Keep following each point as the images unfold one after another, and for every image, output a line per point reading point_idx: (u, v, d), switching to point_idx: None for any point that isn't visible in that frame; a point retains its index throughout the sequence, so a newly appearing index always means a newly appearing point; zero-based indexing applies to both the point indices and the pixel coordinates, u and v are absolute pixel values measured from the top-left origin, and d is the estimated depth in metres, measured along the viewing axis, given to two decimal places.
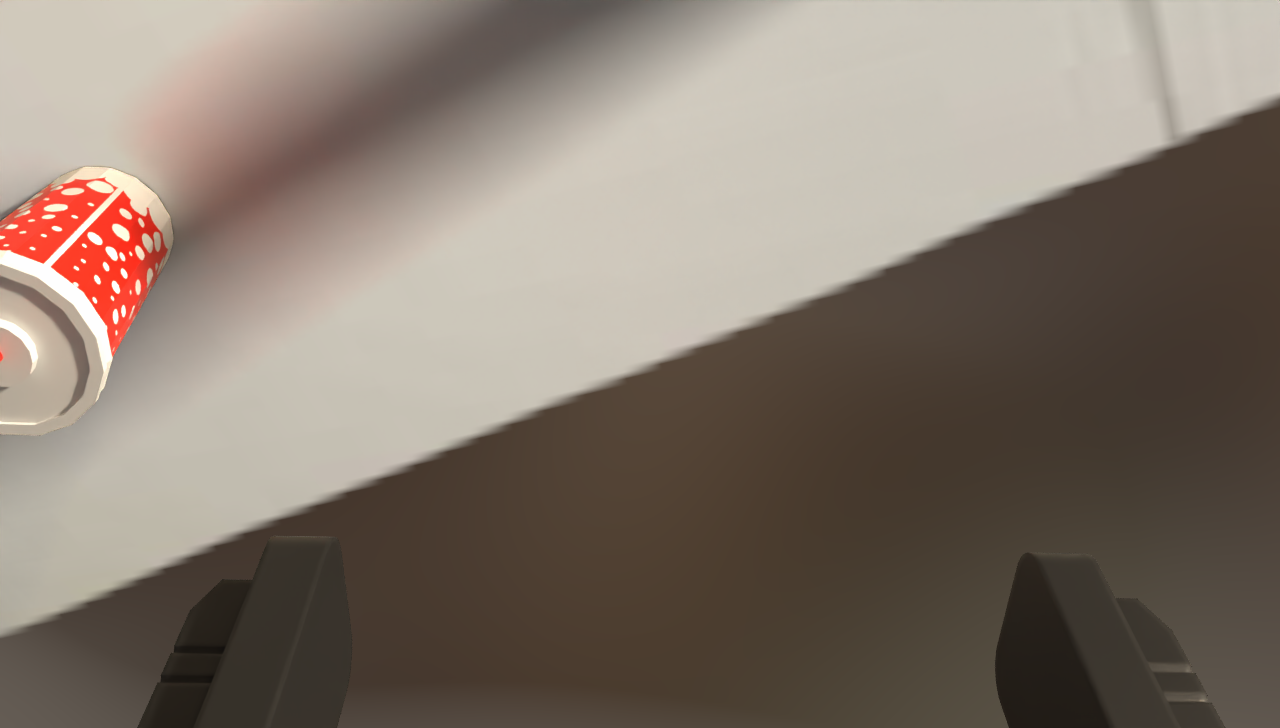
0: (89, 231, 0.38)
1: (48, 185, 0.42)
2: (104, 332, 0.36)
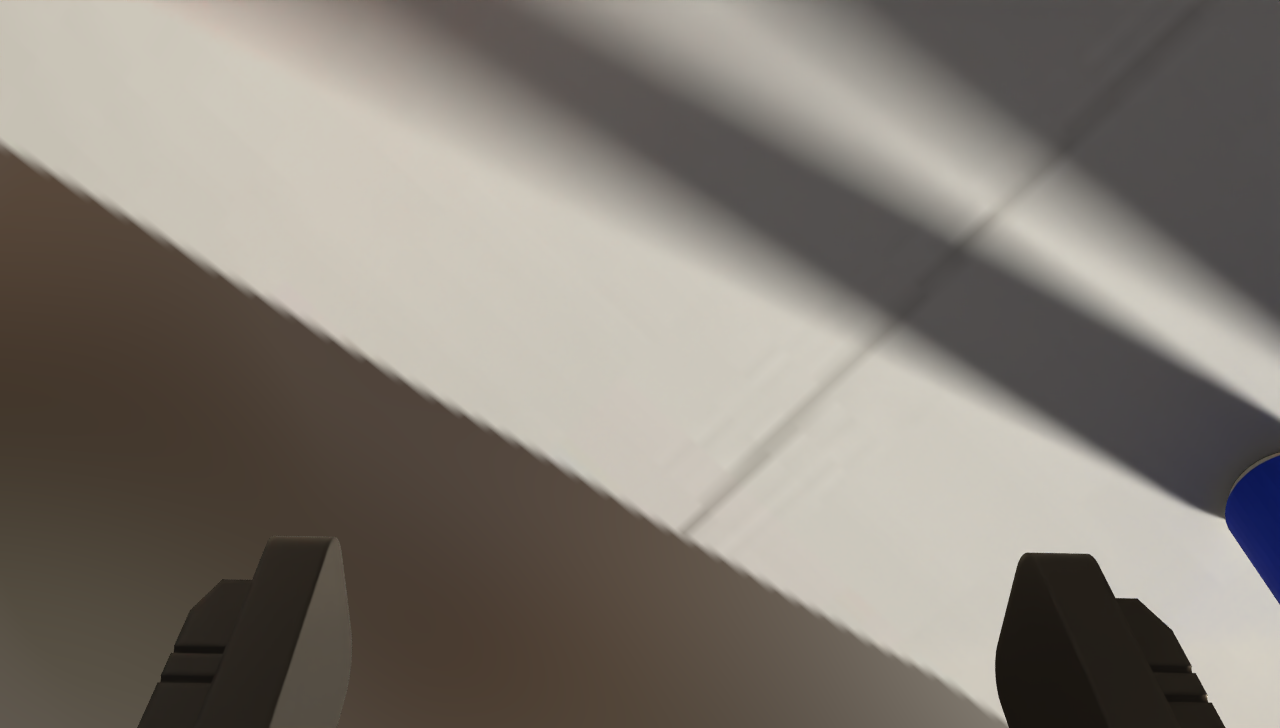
0: None
1: None
2: None
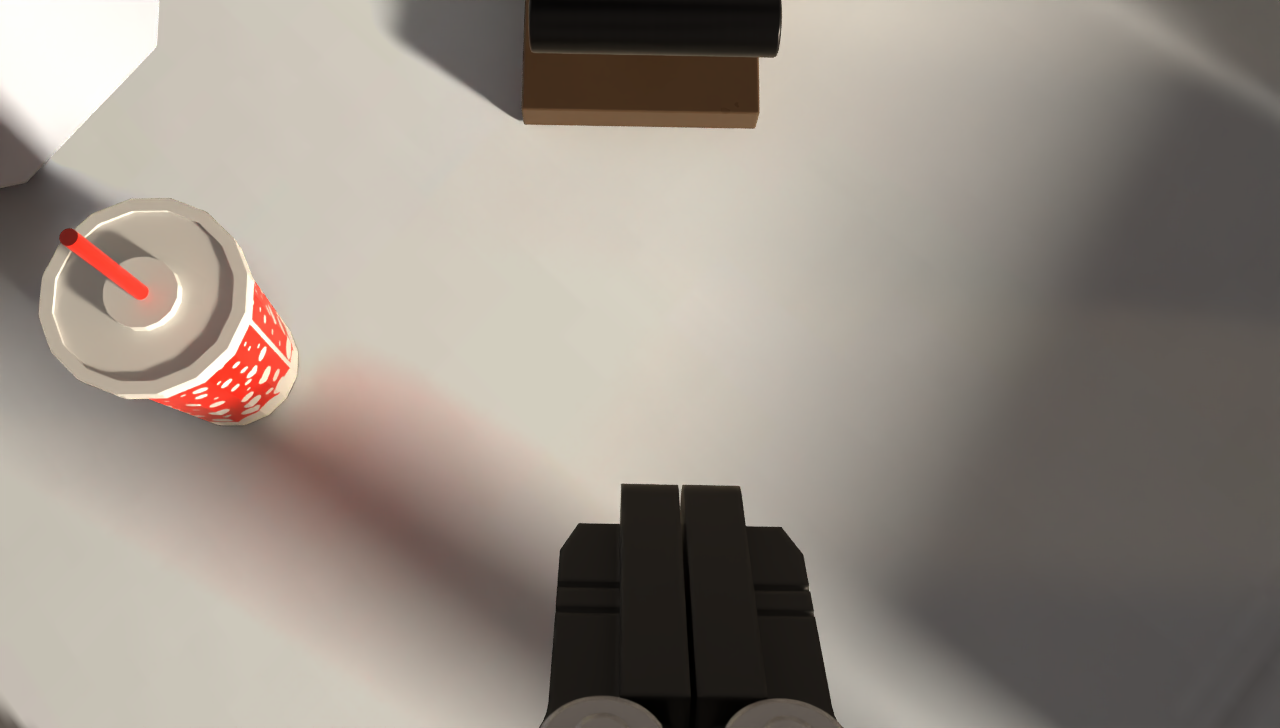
0: (266, 347, 0.40)
1: None
2: (196, 384, 0.36)
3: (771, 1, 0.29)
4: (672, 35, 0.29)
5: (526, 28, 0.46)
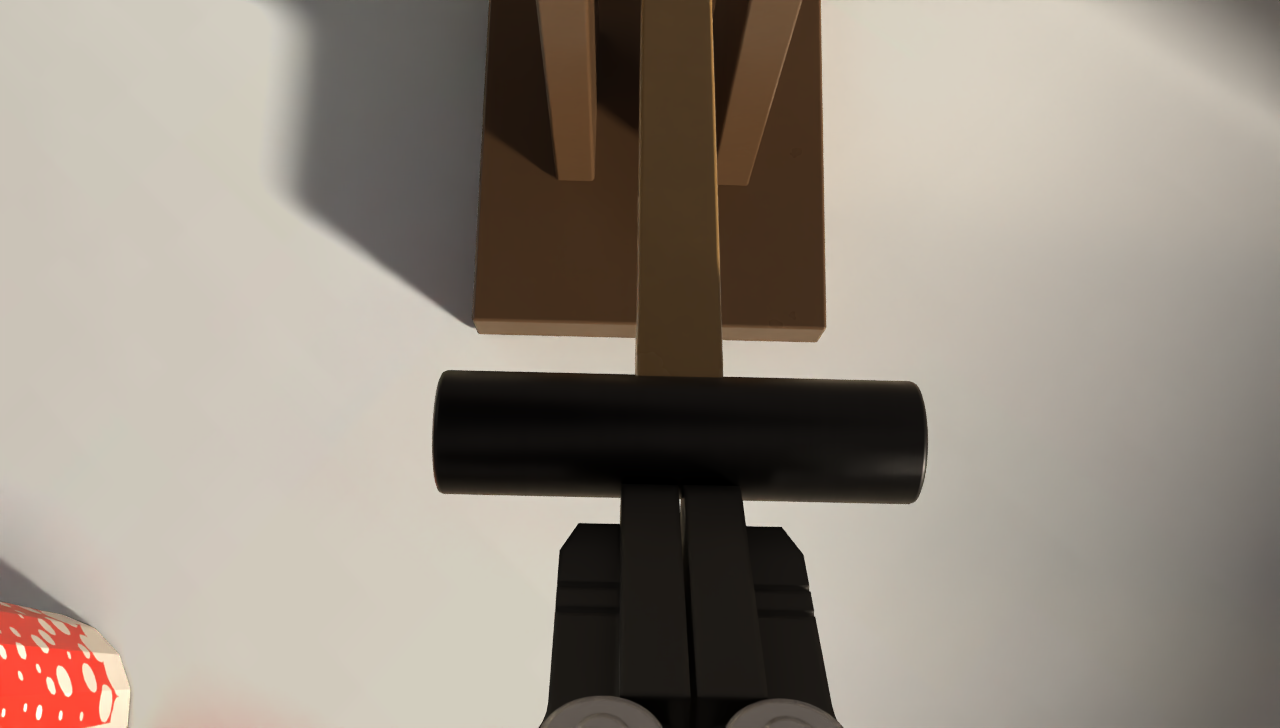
0: None
1: (78, 625, 0.29)
2: None
3: (908, 423, 0.15)
4: (713, 484, 0.15)
5: (482, 195, 0.31)
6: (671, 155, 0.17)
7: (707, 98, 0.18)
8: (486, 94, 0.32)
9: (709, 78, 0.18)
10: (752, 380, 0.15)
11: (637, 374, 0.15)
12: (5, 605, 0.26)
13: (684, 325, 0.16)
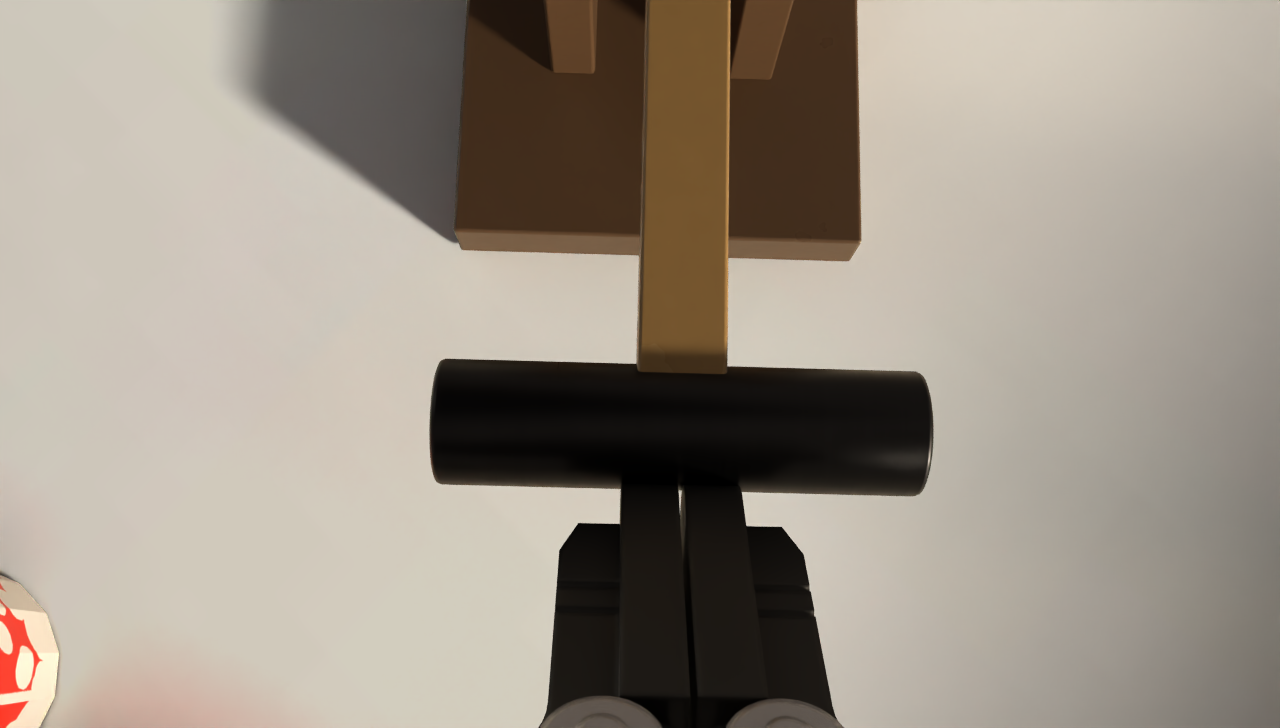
0: None
1: None
2: None
3: (914, 436, 0.14)
4: None
5: (465, 89, 0.27)
6: (679, 92, 0.15)
7: (721, 12, 0.16)
8: None
9: None
10: (757, 380, 0.15)
11: (638, 369, 0.15)
12: None
13: (687, 311, 0.15)
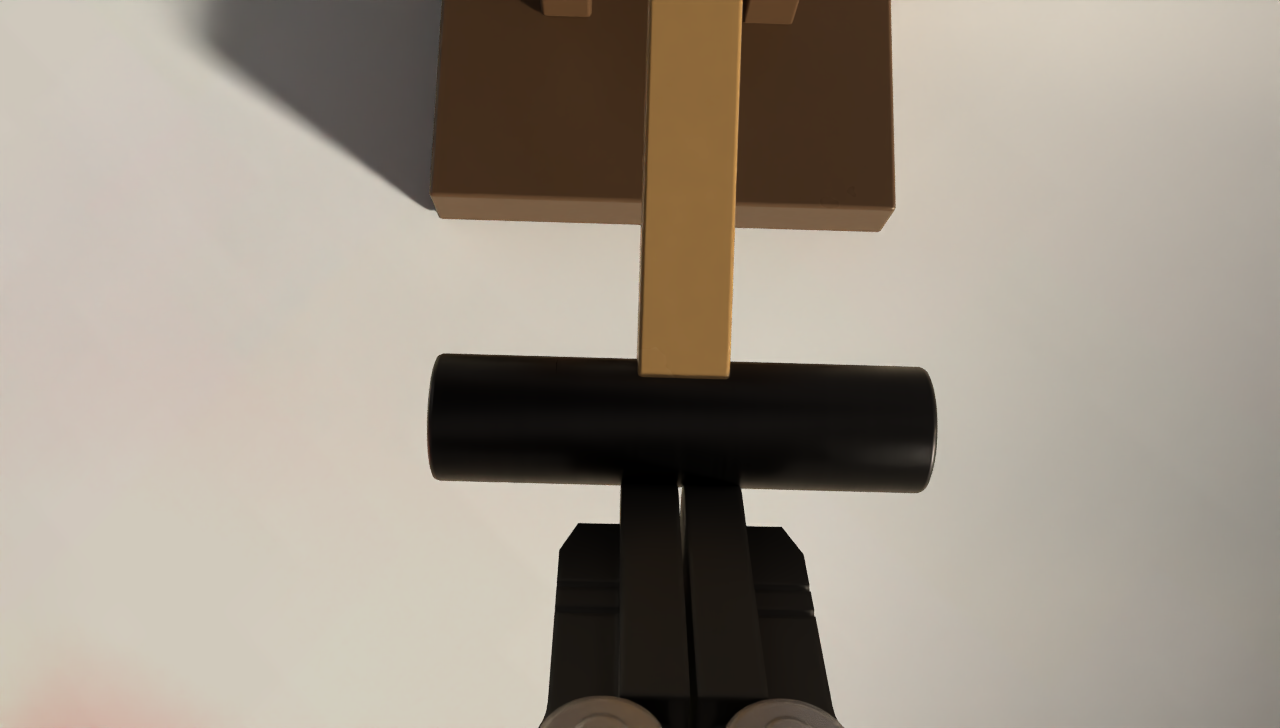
0: None
1: None
2: None
3: (917, 449, 0.14)
4: None
5: (443, 34, 0.24)
6: (686, 64, 0.14)
7: None
8: None
9: None
10: (760, 387, 0.14)
11: (638, 374, 0.14)
12: None
13: (690, 312, 0.14)
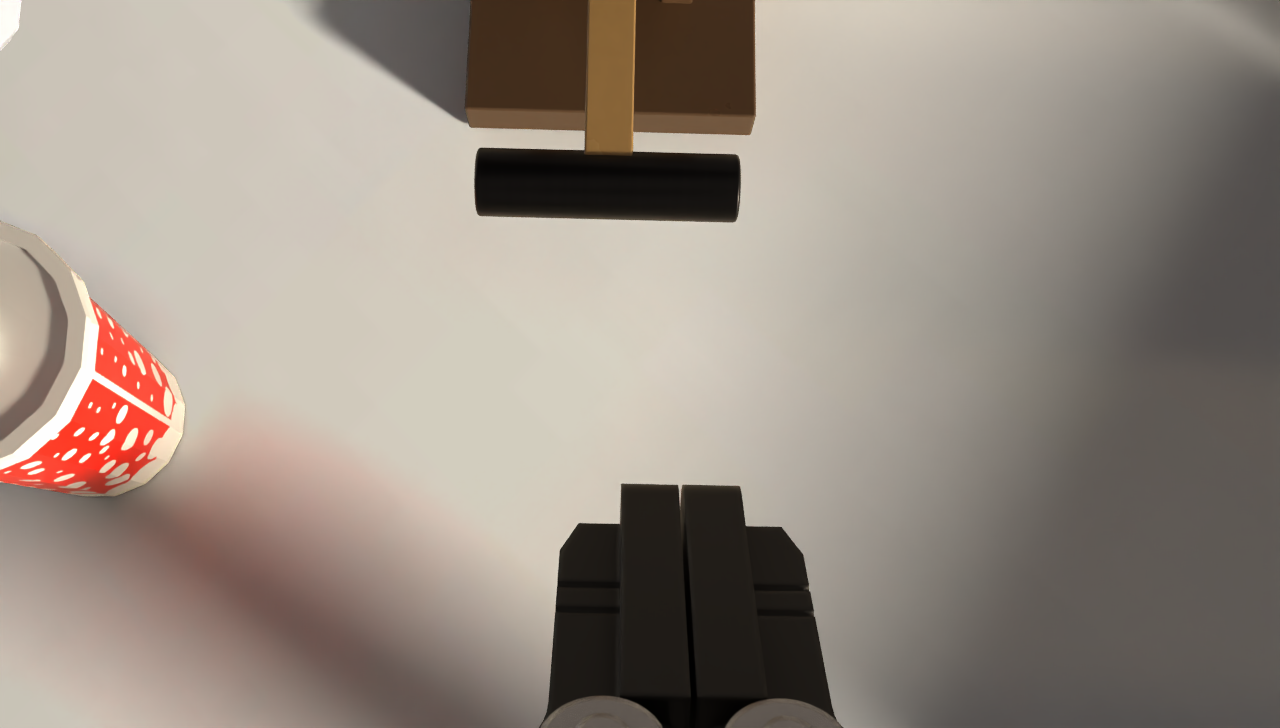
0: (128, 406, 0.31)
1: None
2: (16, 460, 0.27)
3: (729, 188, 0.27)
4: (625, 216, 0.28)
5: (472, 10, 0.38)
6: None
7: None
8: None
9: None
10: (648, 159, 0.27)
11: (584, 153, 0.27)
12: None
13: (611, 121, 0.27)
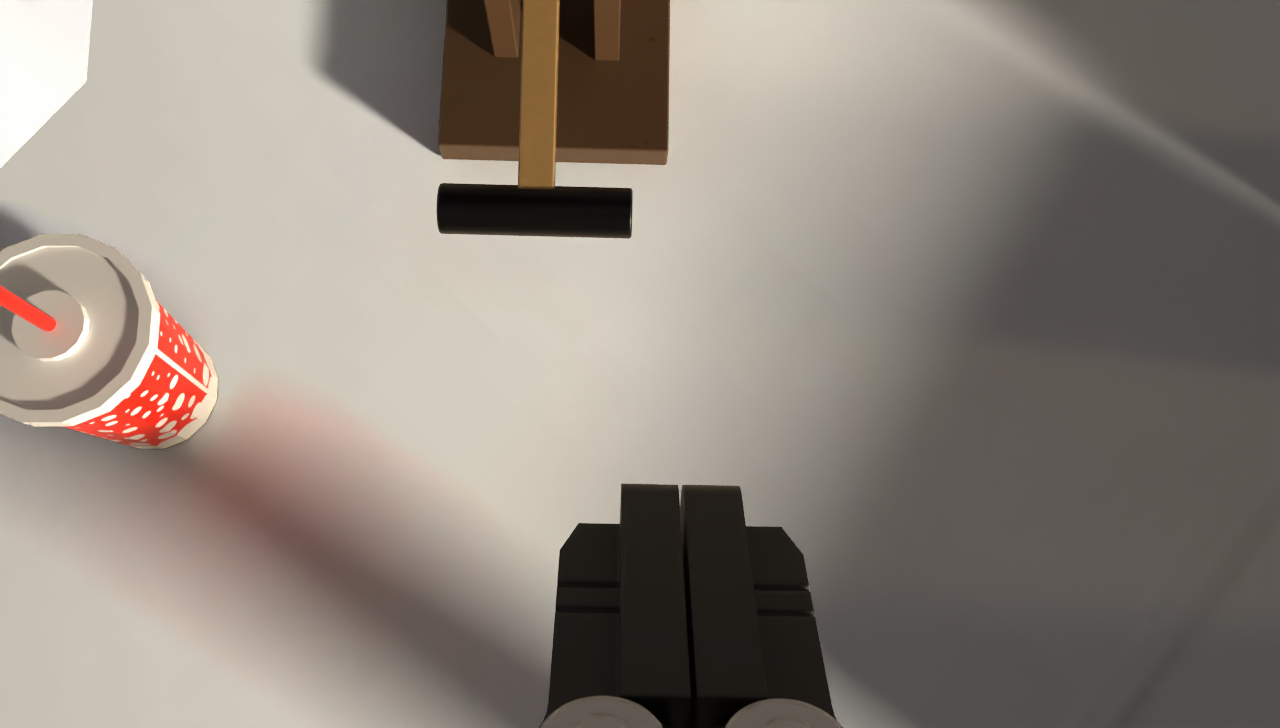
0: (178, 376, 0.41)
1: None
2: (101, 412, 0.37)
3: (624, 213, 0.37)
4: (548, 234, 0.38)
5: (444, 66, 0.48)
6: (535, 71, 0.37)
7: (553, 36, 0.38)
8: (448, 2, 0.49)
9: (554, 24, 0.38)
10: (564, 192, 0.37)
11: (518, 187, 0.37)
12: None
13: (537, 164, 0.37)
